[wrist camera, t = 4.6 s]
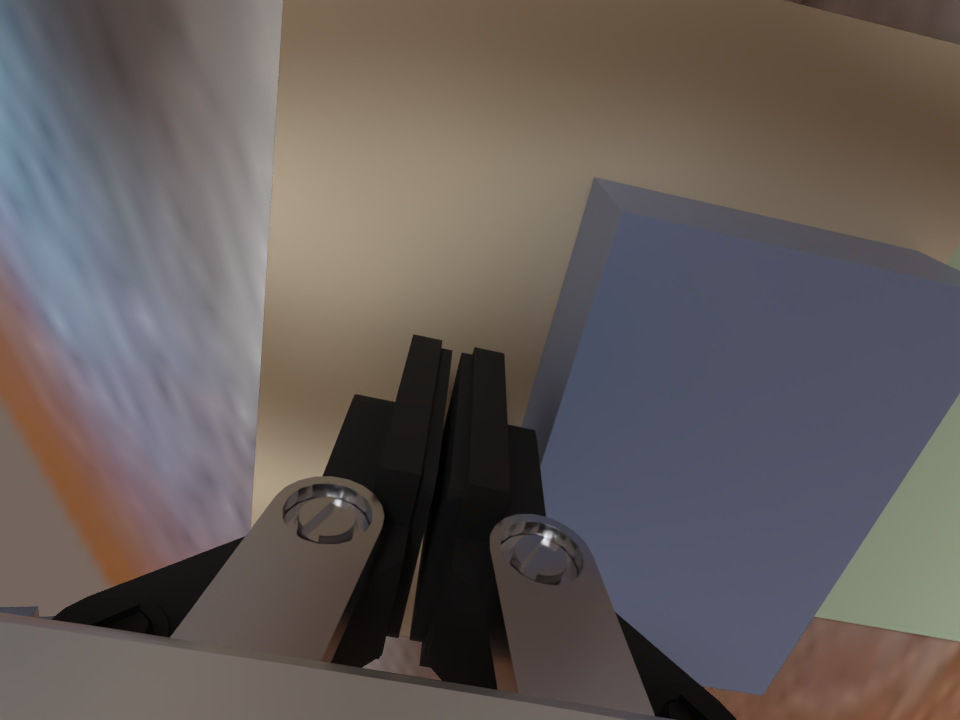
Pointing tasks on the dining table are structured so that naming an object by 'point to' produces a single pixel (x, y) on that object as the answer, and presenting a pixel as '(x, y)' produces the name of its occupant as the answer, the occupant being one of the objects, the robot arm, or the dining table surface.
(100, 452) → the dining table surface
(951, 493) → the mat
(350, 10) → the plate
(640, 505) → the blue rectangular block
